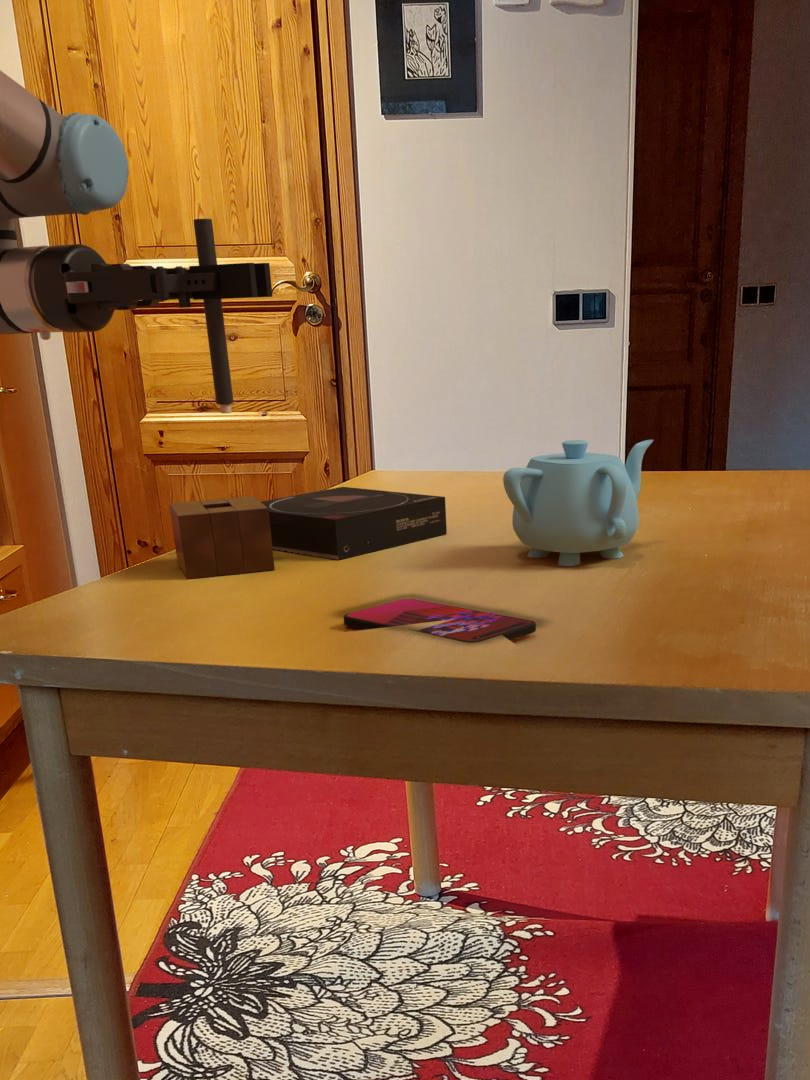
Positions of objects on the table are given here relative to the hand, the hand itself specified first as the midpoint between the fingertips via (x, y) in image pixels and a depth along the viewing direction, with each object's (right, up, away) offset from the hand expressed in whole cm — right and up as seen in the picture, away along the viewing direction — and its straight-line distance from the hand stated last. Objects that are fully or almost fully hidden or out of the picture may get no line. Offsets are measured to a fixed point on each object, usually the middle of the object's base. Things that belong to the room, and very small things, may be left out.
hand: (260, 280), depth 103 cm
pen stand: (-7, -21, +16) cm, 27 cm away
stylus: (-5, -9, +7) cm, 12 cm away
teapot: (+30, -20, +15) cm, 39 cm away
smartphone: (+16, -33, -10) cm, 38 cm away
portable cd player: (+4, -16, +28) cm, 32 cm away
